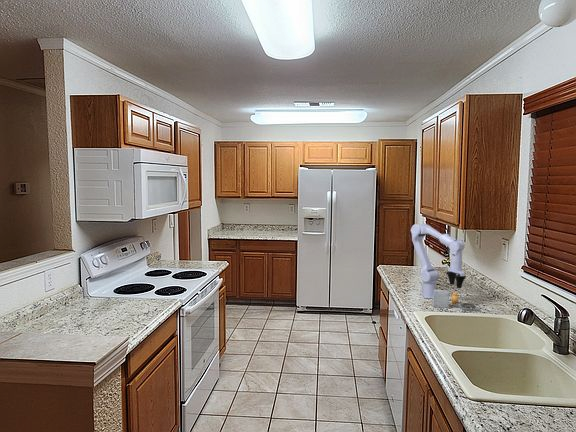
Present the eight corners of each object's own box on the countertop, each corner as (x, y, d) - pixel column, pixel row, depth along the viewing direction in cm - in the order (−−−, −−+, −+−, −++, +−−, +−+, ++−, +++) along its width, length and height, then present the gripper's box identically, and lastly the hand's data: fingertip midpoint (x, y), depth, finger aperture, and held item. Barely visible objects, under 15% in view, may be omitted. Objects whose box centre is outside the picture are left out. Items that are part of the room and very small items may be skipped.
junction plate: (455, 305, 216) (456, 301, 216) (472, 305, 216) (472, 302, 216) (463, 310, 206) (463, 307, 206) (480, 311, 205) (480, 307, 205)
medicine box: (447, 305, 215) (448, 290, 214) (448, 308, 210) (449, 292, 210) (432, 304, 217) (432, 289, 216) (433, 307, 212) (433, 291, 212)
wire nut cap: (450, 302, 221) (450, 292, 220) (456, 302, 221) (457, 292, 220) (452, 304, 217) (453, 293, 217) (459, 304, 217) (459, 293, 217)
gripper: (443, 259, 224) (442, 283, 225) (456, 264, 210) (455, 289, 211) (454, 259, 225) (454, 282, 226) (468, 264, 210) (467, 289, 211)
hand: (455, 286), depth 218 cm, fingers open, 7 cm apart
